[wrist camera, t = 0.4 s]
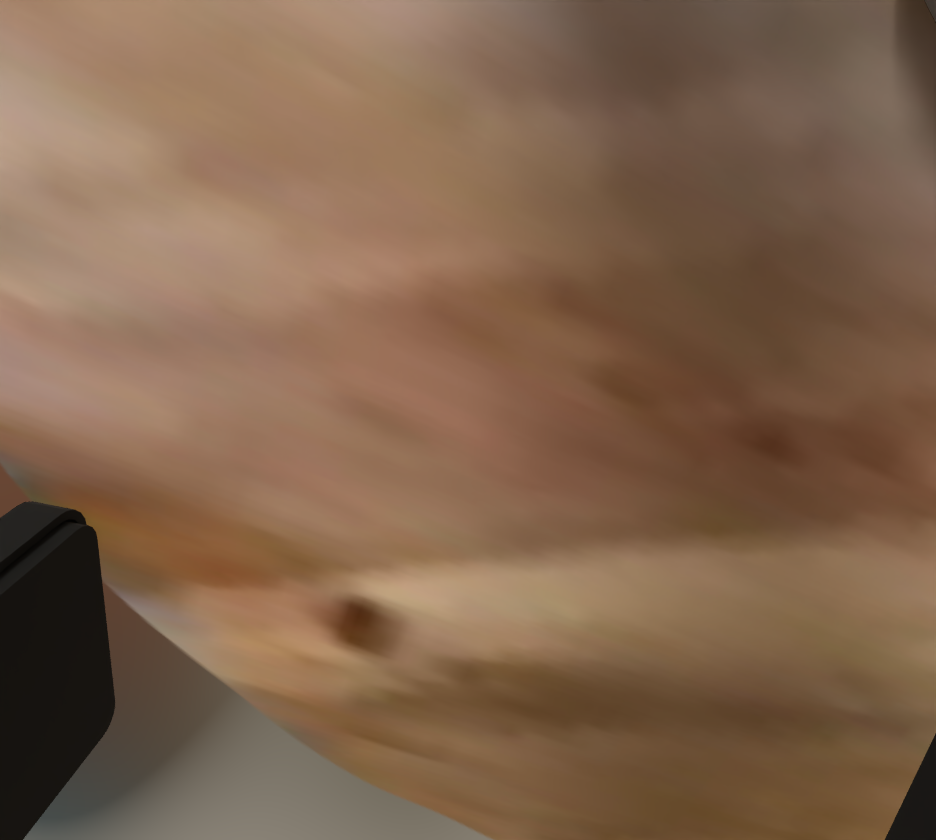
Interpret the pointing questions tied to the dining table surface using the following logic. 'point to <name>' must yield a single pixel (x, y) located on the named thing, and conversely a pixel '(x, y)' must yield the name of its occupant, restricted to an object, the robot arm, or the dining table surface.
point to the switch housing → (932, 7)
